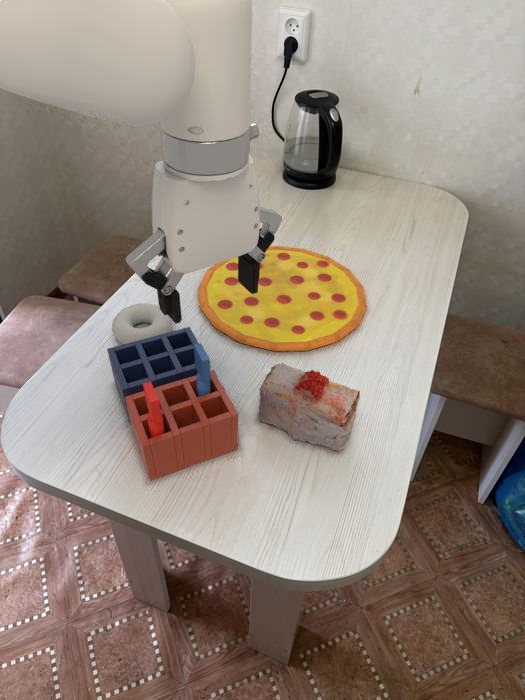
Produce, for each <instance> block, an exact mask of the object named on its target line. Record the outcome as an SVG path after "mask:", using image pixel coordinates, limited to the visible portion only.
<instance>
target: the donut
mask: <svg viewBox="0 0 525 700" xmlns="http://www.w3.org/2000/svg"><path fill="white" fill-rule="evenodd" d="M172 322H173V321H172V319H171V318H170V317H169V316H168V315H164V314H163V313H162V312H161V310H160V307H159V305H157V304H152V303H136V304H135V303H134V304H132V305H129V306H127V307H124V308H123V309H121V310H120V311H119V312H118V313H116V315H115V317H114V318H113V320H112V325H111V330H112V334H113V336H114V338H115V339H116V340H117V342H119V343H120V344H121V345H123V344H127V343H130V342H135V341H138V340H142V339H145V338H149V337H153V336H157V335H160V334H164V333H168V332H172ZM142 323H148V324H150V325H149V326H146V327H141V328H140V327H134V326H135V325H138V324H142Z"/></svg>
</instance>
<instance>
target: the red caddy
mask: <svg viewBox="0 0 525 700" xmlns="http://www.w3.org/2000/svg"><path fill="white" fill-rule="evenodd" d="M210 375H211V381H210V391H211V393H210V394H207V395H204V396H201V397H198V394H197V380H196V376H192V377H189V378H188V379H187V378H185V379H182V380H179V381H175V382H172V383H169V384H165V385H162V386H159V387H156V388H154V390H155V392H156V395H157V397H158V399H159V405H160V411H161V413H162V418H163V424H164V431H165V434H162V435H159V436H156V437H153V438H151V435H150V430H149V424H148V419H147V415H148V412H149V410H148V407H147V405H146V399H145V394H144V391H142V392H139V393H136V394H132V395H129V396H126V397H125V401H126V405H127V410H128V414H129V419H130V423H131V426H130V427H131V432H132V435H133V438H134V441H135V444H136V446H137V449H138V451H139V454H140V458H141V460H142V464H143V466H144V469H145V471H146V474H147V477H148V480H149V482H152V481H156V480H158V479H160V478H164V477H166V476H169V475H172V474H174V473H177V472H180V471H182V470H185V469H188V468H191V467H193V466H196V465H199V464H201V463H204V462H206V461H209V460H212V459H215V458H218V457H221V456H223V455H226V454H229V453H231V452H234V451H237V450H238V449H239V448H238V447H239V446H238V445H239V413H238V411H237V409H236V407H235V406H234V404H233V402H232V400H231V399H230V397H229V394H228V393H227V391H226V390H225V388H224V386H223V384H222V382H221V381H220V379H219V377H218V374H216V372H215V370H214V369H212V370H210Z"/></svg>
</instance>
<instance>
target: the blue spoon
mask: <svg viewBox="0 0 525 700" xmlns="http://www.w3.org/2000/svg"><path fill="white" fill-rule="evenodd" d="M194 355H195V367H196V369H197V371H198V373H197V375H196V380H197V394H198V397H201V396H204V395H207V394H210V393H211V391H210V381H211V375H210V371H211V358H210V357H209V354H208V353H207V351H206V350H205V348H204V346H203V344H202V343H199V344H197V345H194Z"/></svg>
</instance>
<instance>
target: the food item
mask: <svg viewBox="0 0 525 700" xmlns="http://www.w3.org/2000/svg"><path fill="white" fill-rule="evenodd" d="M259 390H260V391H259V411H258V412H259V413H258V422H261V423H265V424H269V425H273V426H274V427H275V428H279V429H281V430H283V431H286V432H287V434H289V437H290V438H291V439H293V440H294V441H295V442H296V441H299V442H302V443H306V442H308V443H310V444H311V445H321V446H324V447H326V448H328V449H329V450H331V451H334V450H335V451H336V452H337V453H339V452H342V451H343V450H344V447H345V446H346V444H347V441H348V440H349V439H350V437H351V434H352V430H353V427H354V424H355V420H356V417H357V411H358V410H357V409H358V405H359V402H360V400H361V392H360V391H361V390H358V389H355V388H350V387H349V386H346V385H344V384H340V383H338V382H334V381H331V380H330V378H329V377H327V376H326V375H323V374H321V372H320V371H317V370H316V371H315V369H310V370H307V371H303V370H302V369H298V368H296V367H293V366H291V365H288V364H286V363H284V362H281V363H277V364H275V365H273V366H272V367H270V371H269V372H268V373H267V374H266V376H265V378H264V380H263V381H262V384H261V385H260V388H259Z"/></svg>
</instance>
